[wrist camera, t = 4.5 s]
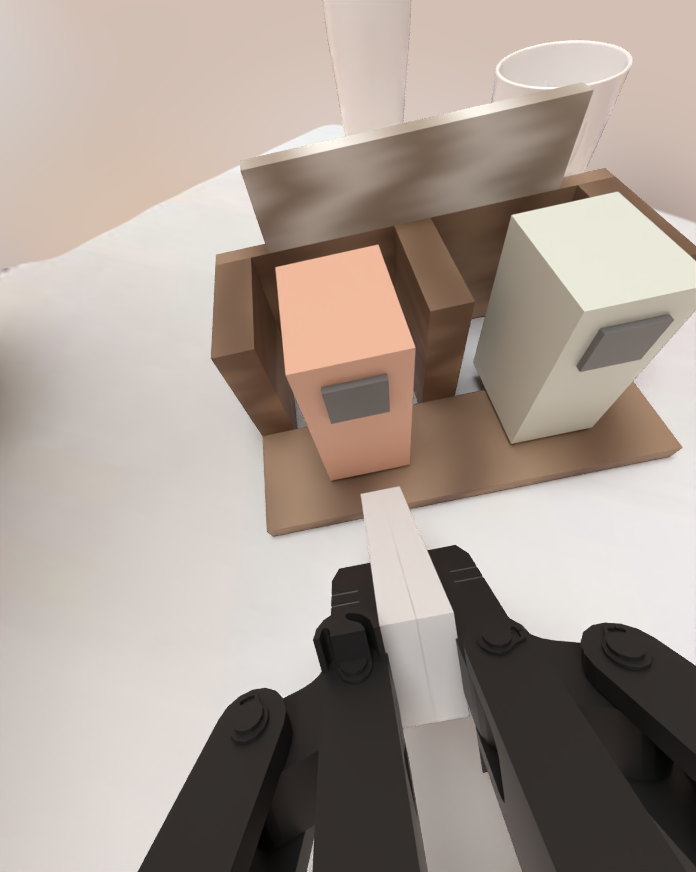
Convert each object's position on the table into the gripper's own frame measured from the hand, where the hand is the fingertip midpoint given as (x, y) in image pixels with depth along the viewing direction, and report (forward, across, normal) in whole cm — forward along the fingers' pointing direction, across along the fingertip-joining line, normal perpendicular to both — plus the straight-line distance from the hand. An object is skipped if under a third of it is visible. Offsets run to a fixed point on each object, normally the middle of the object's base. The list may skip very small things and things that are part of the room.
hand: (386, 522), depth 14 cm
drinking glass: (+31, +7, +23) cm, 39 cm away
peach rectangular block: (+8, 0, +2) cm, 8 cm away
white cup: (+22, +17, +14) cm, 31 cm away
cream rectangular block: (+8, +10, +2) cm, 13 cm away
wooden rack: (+10, +5, +2) cm, 11 cm away
